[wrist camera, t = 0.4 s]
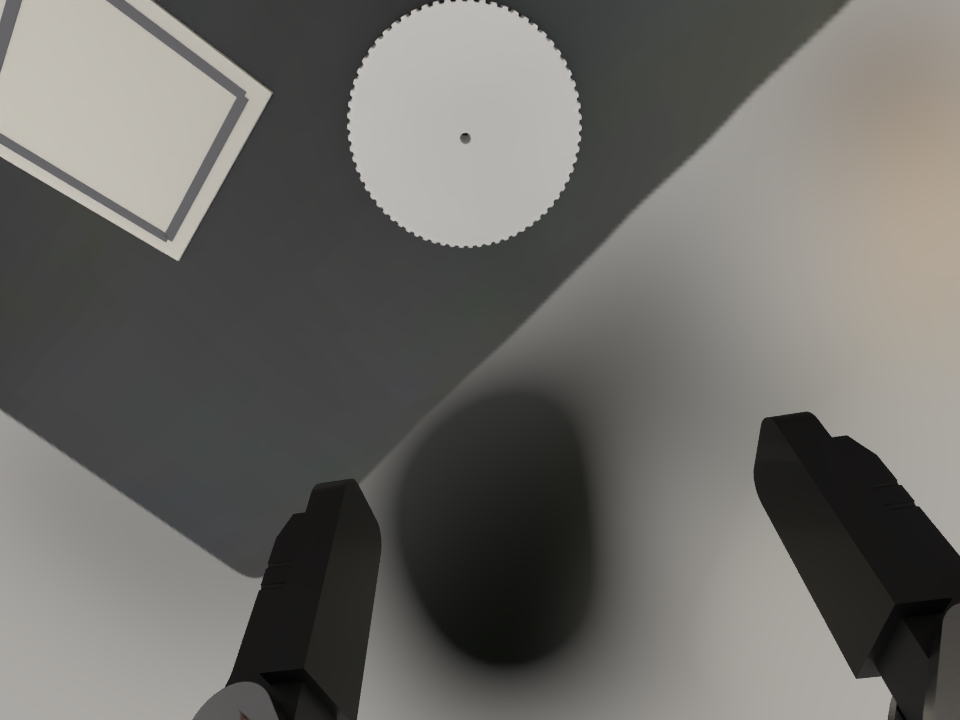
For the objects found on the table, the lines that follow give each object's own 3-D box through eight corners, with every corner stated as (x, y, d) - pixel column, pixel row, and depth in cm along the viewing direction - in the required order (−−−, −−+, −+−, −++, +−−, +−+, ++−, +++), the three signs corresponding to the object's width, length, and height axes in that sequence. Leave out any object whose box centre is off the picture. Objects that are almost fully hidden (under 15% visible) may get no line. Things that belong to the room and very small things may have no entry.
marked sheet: (-46, 126, 33) (-51, 127, 32) (17, -104, 27) (12, -106, 26) (180, 259, 38) (177, 261, 38) (273, 92, 32) (271, 93, 32)
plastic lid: (367, -35, 29) (361, -37, 27) (606, 34, 31) (617, 38, 29) (344, 210, 37) (337, 223, 35) (537, 251, 39) (541, 266, 37)
